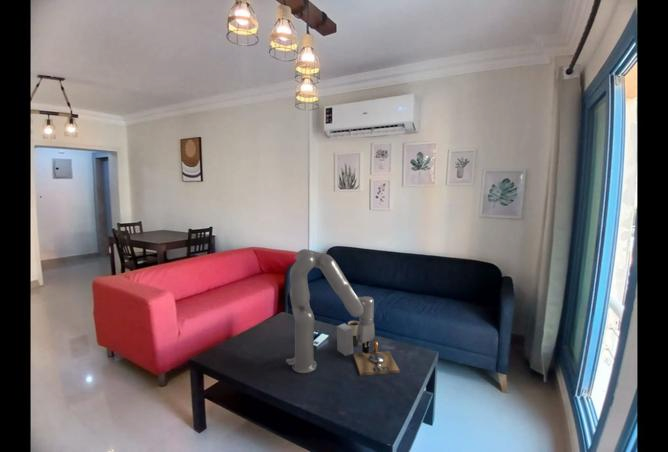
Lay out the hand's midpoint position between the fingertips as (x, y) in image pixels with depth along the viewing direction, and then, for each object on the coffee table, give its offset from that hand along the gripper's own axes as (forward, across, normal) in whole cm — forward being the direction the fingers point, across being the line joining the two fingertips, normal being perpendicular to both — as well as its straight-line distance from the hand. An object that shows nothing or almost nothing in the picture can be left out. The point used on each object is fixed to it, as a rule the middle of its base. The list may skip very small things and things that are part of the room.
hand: (365, 352), depth 170 cm
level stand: (+3, 0, +7) cm, 8 cm away
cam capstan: (+2, -1, +8) cm, 8 cm away
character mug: (+4, -6, -15) cm, 17 cm away
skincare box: (+4, +4, -12) cm, 13 cm away
